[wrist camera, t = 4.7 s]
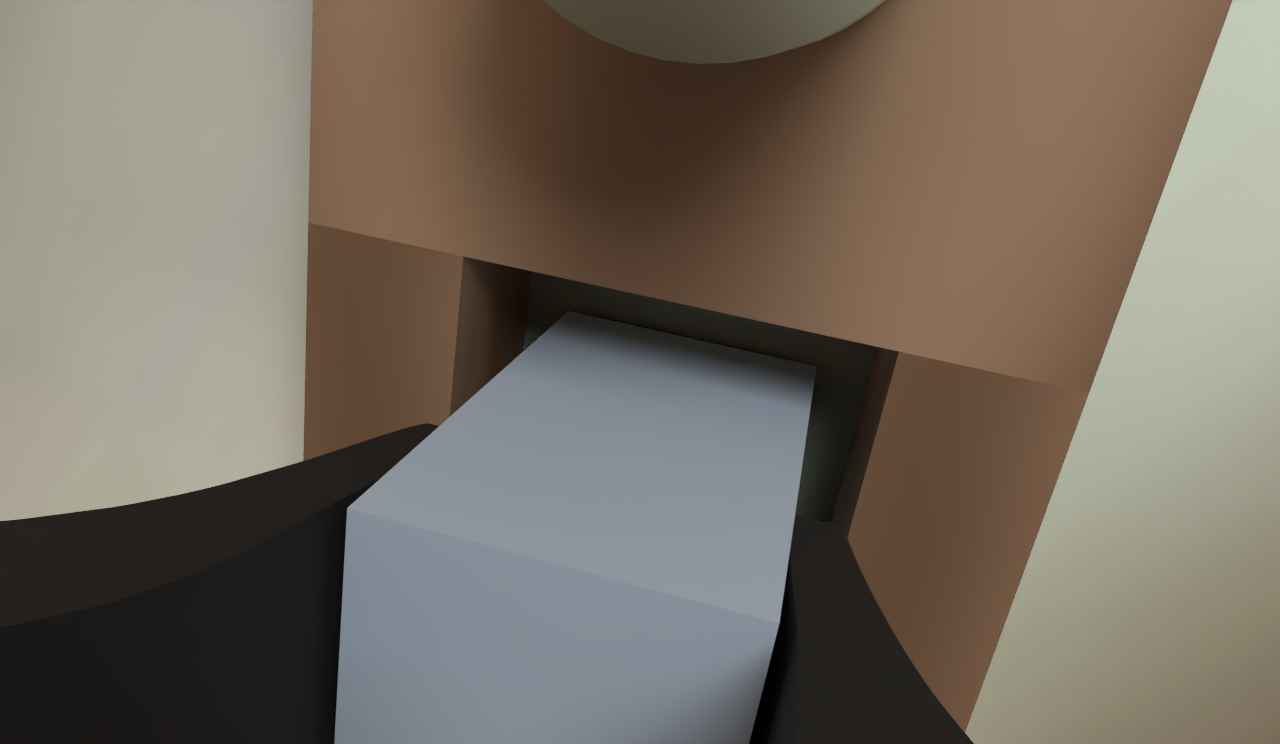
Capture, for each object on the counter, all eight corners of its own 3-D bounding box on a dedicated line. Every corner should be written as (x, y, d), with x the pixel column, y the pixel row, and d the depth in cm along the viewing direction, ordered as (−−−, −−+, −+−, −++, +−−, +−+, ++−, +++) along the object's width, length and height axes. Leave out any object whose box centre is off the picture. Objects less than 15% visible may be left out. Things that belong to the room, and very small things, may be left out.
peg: (816, 366, 14) (780, 623, 8) (763, 586, 16) (696, 955, 9) (568, 311, 15) (347, 507, 9) (538, 527, 16) (329, 835, 10)
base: (1309, -470, 10) (1816, -1042, 5) (914, 710, 16) (936, 1053, 11) (453, -540, 12) (90, -1034, 6) (386, 564, 18) (174, 802, 12)
